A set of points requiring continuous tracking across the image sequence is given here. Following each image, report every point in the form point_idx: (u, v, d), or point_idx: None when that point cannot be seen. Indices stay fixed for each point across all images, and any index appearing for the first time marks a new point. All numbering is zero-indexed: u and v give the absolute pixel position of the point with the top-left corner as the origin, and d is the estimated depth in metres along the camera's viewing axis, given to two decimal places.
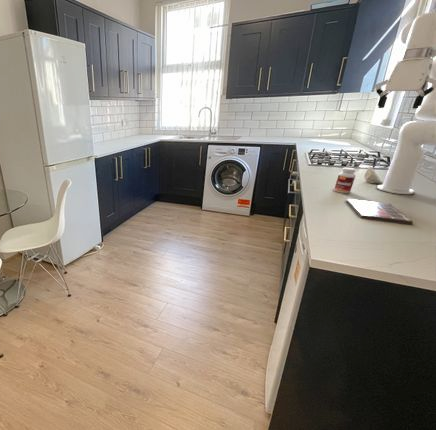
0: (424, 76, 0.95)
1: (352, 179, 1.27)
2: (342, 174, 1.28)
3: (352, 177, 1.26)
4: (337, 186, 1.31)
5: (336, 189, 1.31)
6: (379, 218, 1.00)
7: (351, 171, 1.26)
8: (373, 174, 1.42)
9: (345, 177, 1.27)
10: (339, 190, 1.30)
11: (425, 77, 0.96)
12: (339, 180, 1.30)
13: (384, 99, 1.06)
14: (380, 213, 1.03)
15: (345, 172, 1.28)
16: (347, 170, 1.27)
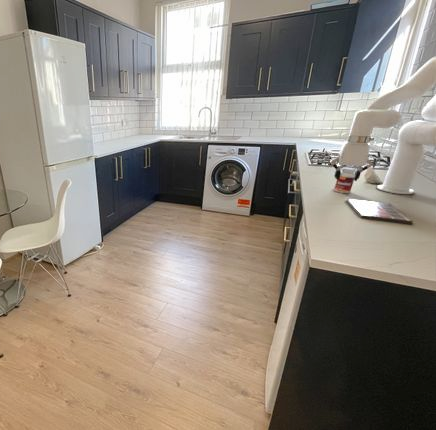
0: (367, 157, 1.22)
1: (352, 179, 1.27)
2: (342, 174, 1.28)
3: (352, 177, 1.26)
4: (337, 186, 1.31)
5: (336, 189, 1.31)
6: (379, 218, 1.00)
7: (351, 171, 1.26)
8: (373, 174, 1.42)
9: (345, 177, 1.27)
10: (339, 190, 1.30)
11: (367, 157, 1.23)
12: (339, 180, 1.30)
13: None
14: (380, 213, 1.03)
15: (345, 172, 1.28)
16: (347, 170, 1.27)
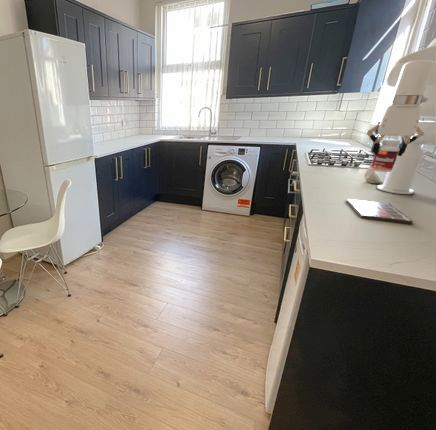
0: (418, 123, 0.94)
1: (396, 153, 0.98)
2: (382, 147, 1.00)
3: (396, 151, 0.98)
4: (375, 163, 1.03)
5: (373, 167, 1.03)
6: (379, 218, 1.00)
7: (395, 143, 0.98)
8: (373, 174, 1.42)
9: (386, 151, 0.99)
10: (378, 168, 1.02)
11: (417, 124, 0.94)
12: (378, 155, 1.01)
13: None
14: (380, 213, 1.03)
15: (386, 145, 0.99)
16: (389, 142, 0.98)
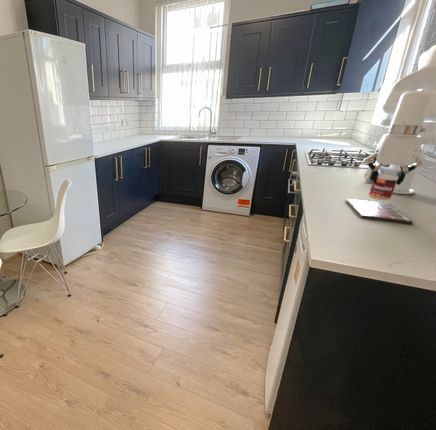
0: (416, 153, 0.93)
1: (394, 182, 0.97)
2: (380, 176, 0.99)
3: (394, 180, 0.97)
4: (373, 191, 1.01)
5: (372, 195, 1.02)
6: (379, 218, 1.00)
7: (393, 172, 0.97)
8: None
9: (385, 180, 0.98)
10: (376, 196, 1.01)
11: (416, 154, 0.93)
12: (376, 184, 1.00)
13: None
14: (380, 213, 1.03)
15: (385, 173, 0.98)
16: (388, 171, 0.97)
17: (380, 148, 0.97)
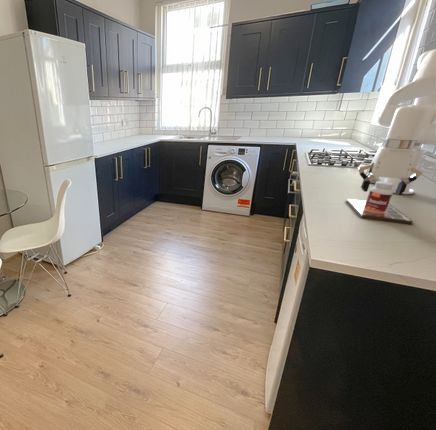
0: (411, 166, 0.94)
1: (389, 197, 0.99)
2: (375, 190, 1.01)
3: (389, 194, 0.99)
4: (368, 205, 1.03)
5: (367, 208, 1.04)
6: (379, 218, 1.00)
7: (388, 186, 0.99)
8: None
9: (380, 194, 1.00)
10: (371, 210, 1.03)
11: None
12: (371, 197, 1.02)
13: None
14: None
15: (380, 188, 1.00)
16: (382, 185, 0.99)
17: (375, 161, 0.98)
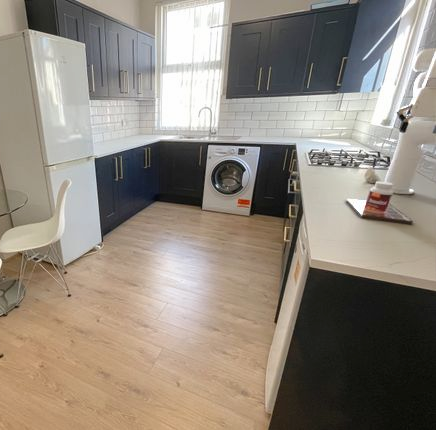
0: None
1: (389, 197, 0.99)
2: (375, 190, 1.01)
3: (389, 194, 0.99)
4: (368, 205, 1.03)
5: (367, 208, 1.04)
6: (379, 218, 1.00)
7: (388, 186, 0.99)
8: (373, 174, 1.42)
9: (380, 194, 1.00)
10: (371, 210, 1.03)
11: None
12: (371, 197, 1.02)
13: None
14: None
15: (380, 188, 1.00)
16: (382, 185, 0.99)
17: (415, 101, 1.04)
